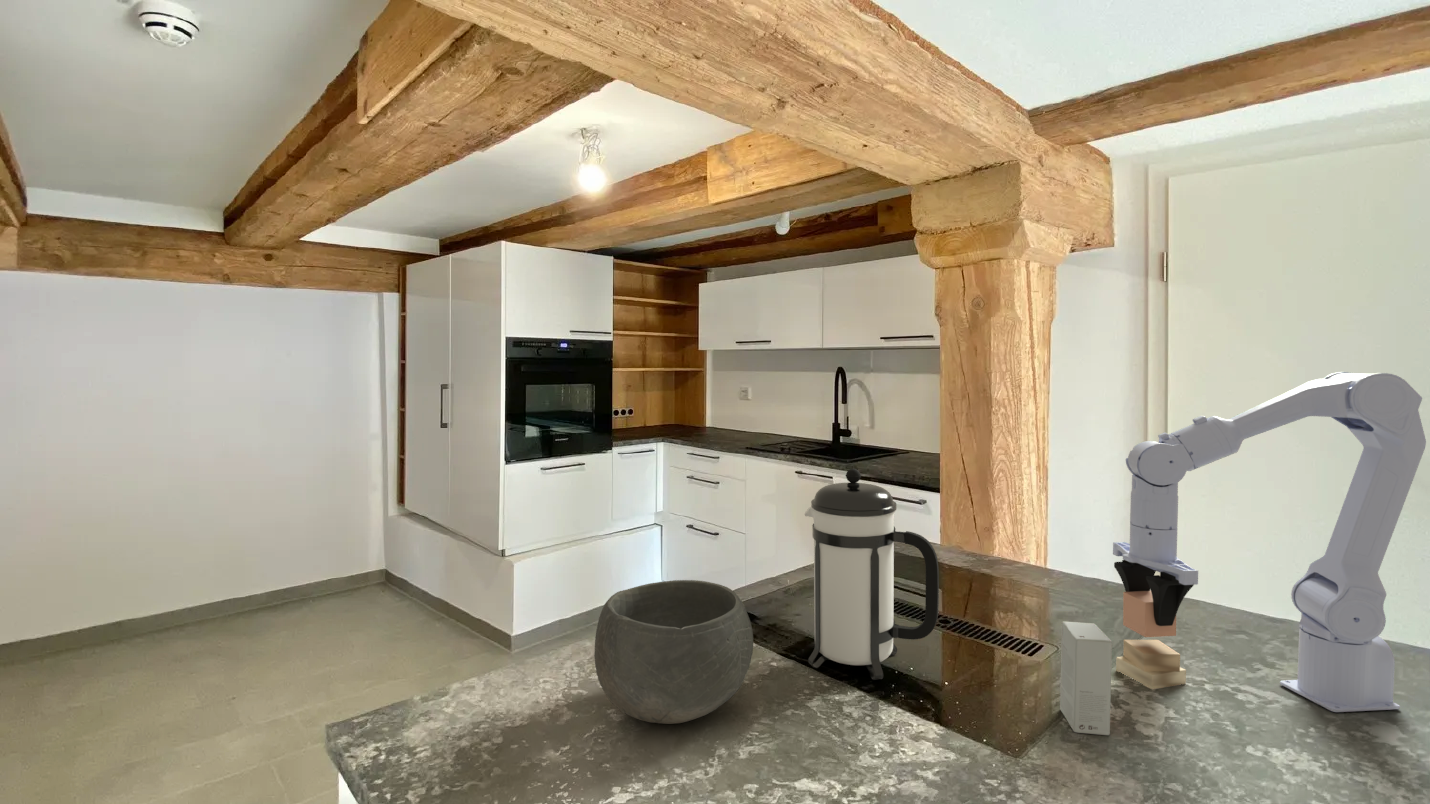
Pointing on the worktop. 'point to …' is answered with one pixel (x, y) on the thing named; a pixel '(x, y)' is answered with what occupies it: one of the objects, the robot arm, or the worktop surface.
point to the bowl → (672, 649)
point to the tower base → (1150, 675)
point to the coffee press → (861, 575)
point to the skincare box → (1086, 678)
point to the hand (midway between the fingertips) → (1150, 618)
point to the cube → (1143, 615)
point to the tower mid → (1151, 655)
